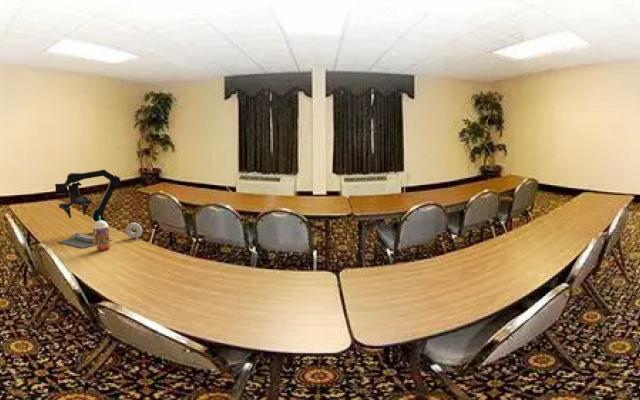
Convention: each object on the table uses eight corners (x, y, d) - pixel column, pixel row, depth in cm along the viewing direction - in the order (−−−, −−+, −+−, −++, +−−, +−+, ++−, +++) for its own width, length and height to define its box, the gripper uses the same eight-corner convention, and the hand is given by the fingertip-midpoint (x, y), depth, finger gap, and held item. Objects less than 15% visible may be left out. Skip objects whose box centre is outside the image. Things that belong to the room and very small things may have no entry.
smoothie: (96, 252, 272) (91, 218, 268) (95, 249, 279) (90, 215, 275) (112, 250, 276) (108, 216, 272) (110, 246, 283) (106, 213, 279)
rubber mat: (86, 235, 310) (86, 234, 310) (111, 241, 295) (111, 240, 295) (58, 242, 296) (58, 241, 295) (82, 248, 280) (82, 247, 280)
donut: (125, 239, 297) (123, 223, 295) (127, 238, 301) (125, 222, 299) (142, 238, 298) (140, 222, 296) (143, 237, 301) (142, 221, 300)
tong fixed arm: (72, 238, 301) (71, 233, 301) (78, 237, 305) (77, 231, 304) (92, 243, 288) (92, 237, 288) (99, 241, 292) (98, 236, 291)
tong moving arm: (76, 239, 299) (75, 235, 298) (78, 238, 300) (78, 234, 300) (93, 243, 289) (92, 239, 288) (95, 242, 290) (95, 238, 289)
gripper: (66, 196, 295) (69, 221, 298) (95, 191, 310) (98, 215, 313) (57, 195, 301) (60, 219, 304) (85, 190, 316) (88, 213, 319)
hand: (77, 216), depth 310 cm, fingers open, 9 cm apart
